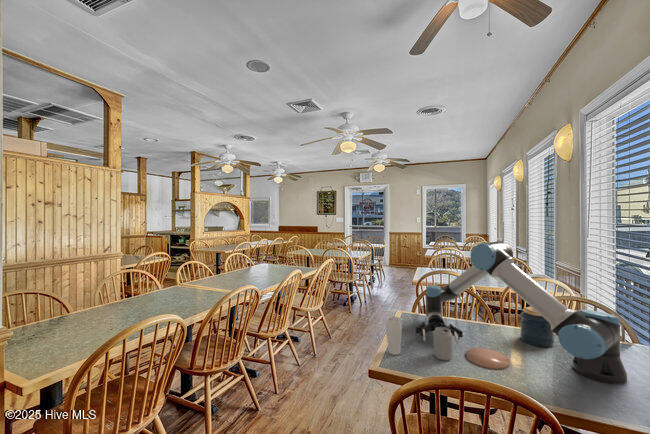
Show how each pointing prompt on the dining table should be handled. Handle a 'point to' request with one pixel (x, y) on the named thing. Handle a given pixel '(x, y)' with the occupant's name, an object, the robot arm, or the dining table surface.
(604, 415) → the dining table surface
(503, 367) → the terracotta plate
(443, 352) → the can
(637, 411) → the dining table surface
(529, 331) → the canister
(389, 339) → the drinking glass
